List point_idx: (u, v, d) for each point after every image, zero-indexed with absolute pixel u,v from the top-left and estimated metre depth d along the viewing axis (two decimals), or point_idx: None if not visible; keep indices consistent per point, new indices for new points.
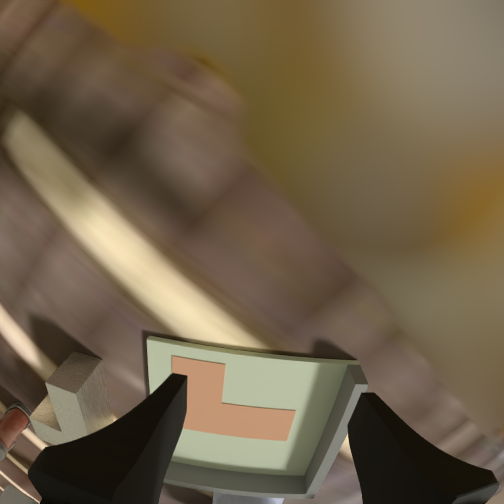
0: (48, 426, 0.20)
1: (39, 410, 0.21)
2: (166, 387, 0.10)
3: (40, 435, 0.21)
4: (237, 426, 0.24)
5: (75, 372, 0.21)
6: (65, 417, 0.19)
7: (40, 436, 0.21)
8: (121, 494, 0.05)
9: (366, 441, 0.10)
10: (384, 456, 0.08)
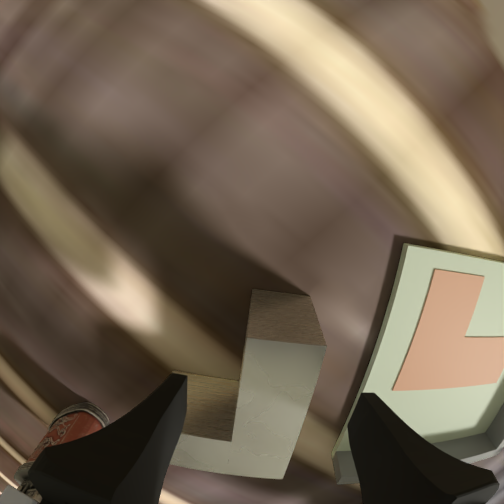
0: (198, 437, 0.13)
1: None
2: (166, 387, 0.10)
3: None
4: (463, 372, 0.16)
5: (289, 315, 0.13)
6: (263, 408, 0.12)
7: None
8: (121, 494, 0.05)
9: (366, 441, 0.10)
10: (384, 456, 0.08)
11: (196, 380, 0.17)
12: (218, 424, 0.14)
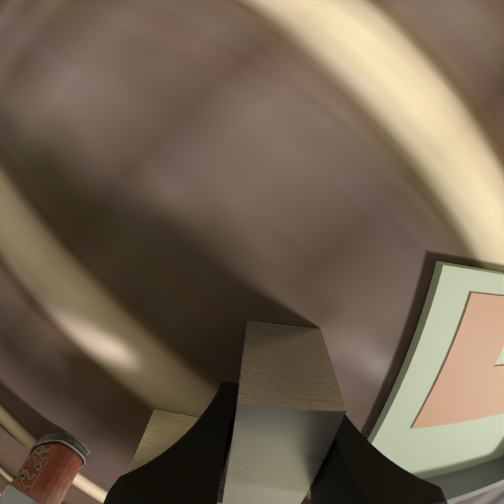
0: None
1: (143, 461, 0.10)
2: (223, 397, 0.10)
3: None
4: (488, 402, 0.13)
5: (294, 363, 0.10)
6: (260, 475, 0.08)
7: None
8: None
9: None
10: (328, 459, 0.08)
11: (181, 422, 0.13)
12: None
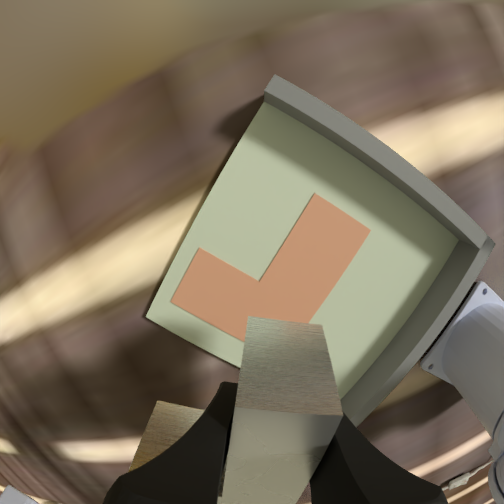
0: None
1: (145, 454, 0.11)
2: (223, 397, 0.10)
3: None
4: (312, 282, 0.18)
5: (294, 362, 0.10)
6: (258, 472, 0.09)
7: None
8: None
9: None
10: (329, 459, 0.08)
11: (183, 414, 0.14)
12: None
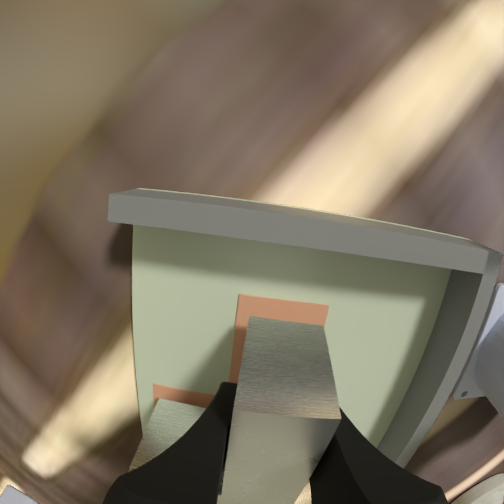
0: None
1: (146, 452, 0.11)
2: (222, 397, 0.10)
3: None
4: None
5: (294, 364, 0.10)
6: (256, 472, 0.09)
7: None
8: None
9: None
10: (329, 459, 0.08)
11: (185, 412, 0.14)
12: None
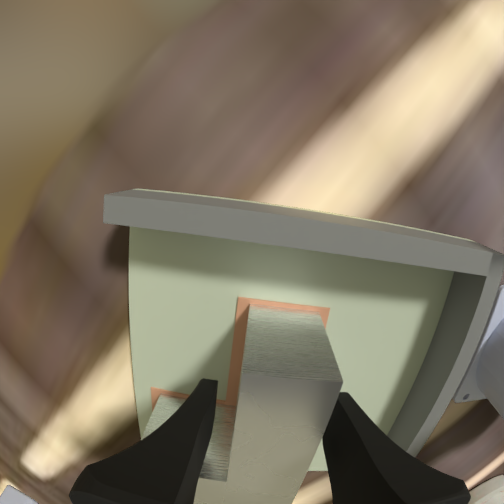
0: None
1: None
2: (200, 393, 0.10)
3: None
4: None
5: (294, 340, 0.11)
6: (263, 450, 0.09)
7: None
8: None
9: (337, 442, 0.10)
10: (352, 458, 0.08)
11: None
12: (211, 460, 0.11)
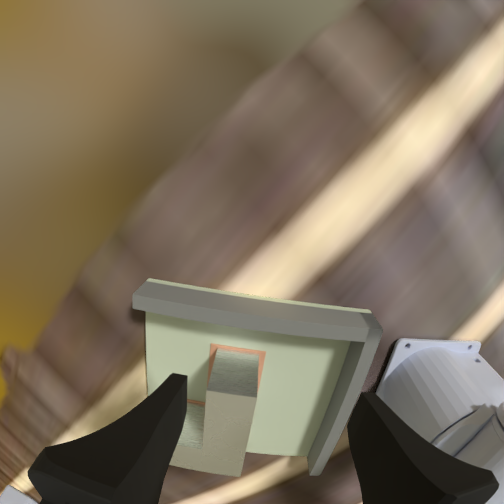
0: (180, 445, 0.19)
1: None
2: (166, 387, 0.10)
3: None
4: None
5: (238, 372, 0.19)
6: (220, 430, 0.18)
7: None
8: (121, 494, 0.05)
9: (366, 441, 0.10)
10: (384, 456, 0.08)
11: None
12: (194, 437, 0.20)
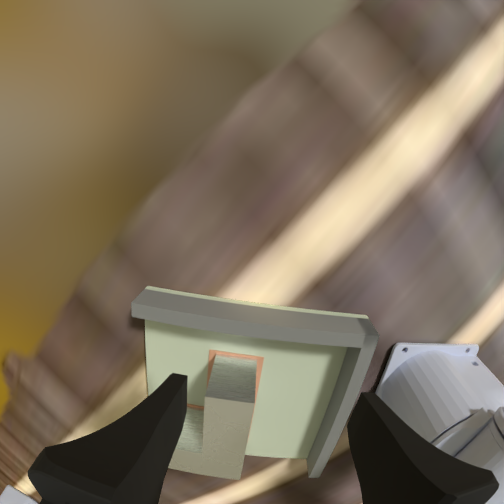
0: (180, 450, 0.19)
1: None
2: (166, 387, 0.10)
3: None
4: None
5: (236, 378, 0.19)
6: (219, 435, 0.18)
7: None
8: (121, 494, 0.05)
9: (366, 441, 0.10)
10: (384, 456, 0.08)
11: None
12: (194, 441, 0.20)
